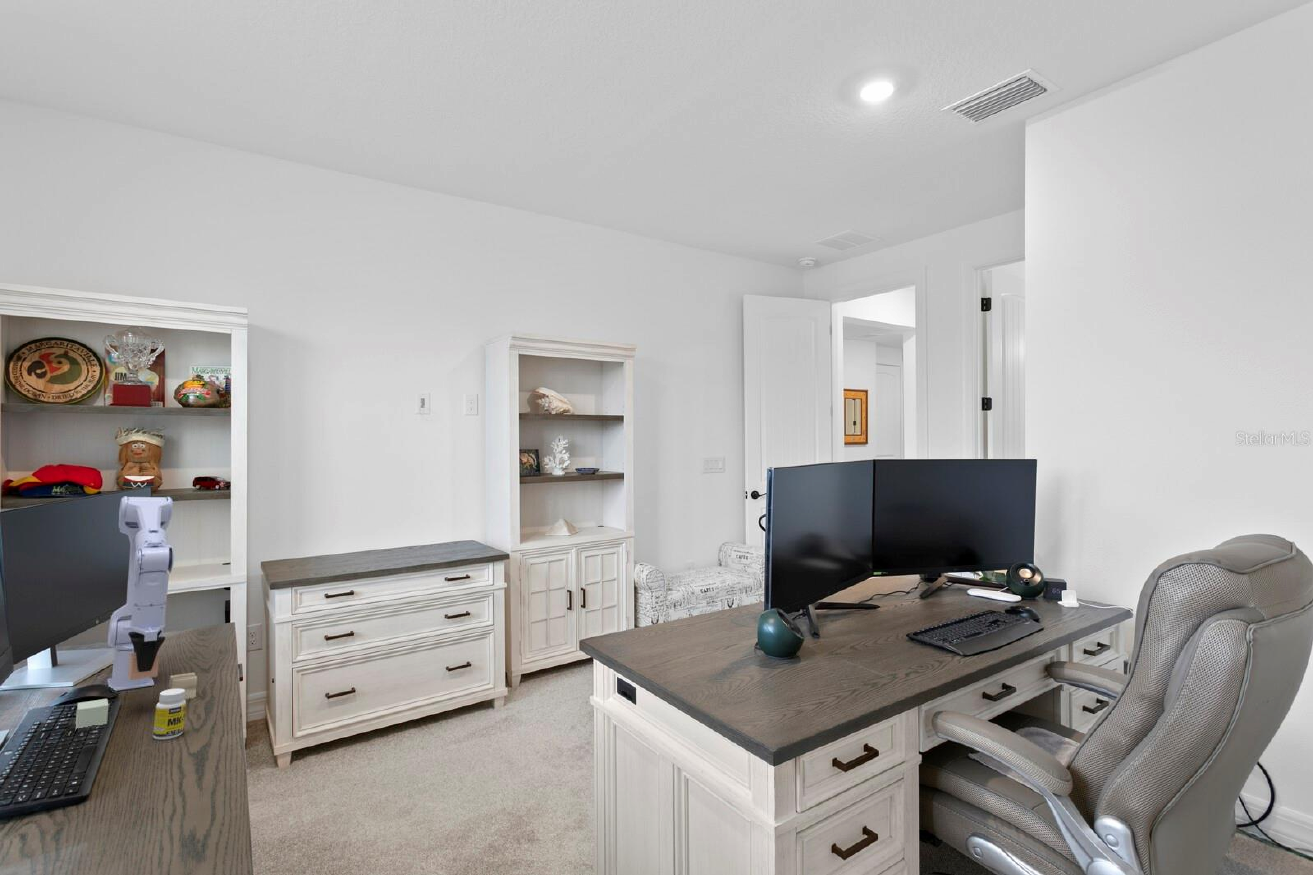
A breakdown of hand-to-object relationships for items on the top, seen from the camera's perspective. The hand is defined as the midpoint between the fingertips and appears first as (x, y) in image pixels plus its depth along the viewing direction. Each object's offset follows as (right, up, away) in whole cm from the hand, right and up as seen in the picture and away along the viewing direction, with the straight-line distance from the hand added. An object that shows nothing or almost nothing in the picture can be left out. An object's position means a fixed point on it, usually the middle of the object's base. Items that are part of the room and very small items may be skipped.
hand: (143, 668), depth 139 cm
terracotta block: (0, -2, 0) cm, 2 cm away
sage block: (-3, -8, -10) cm, 13 cm away
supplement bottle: (+14, -9, -12) cm, 20 cm away
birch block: (+2, -10, +9) cm, 13 cm away
